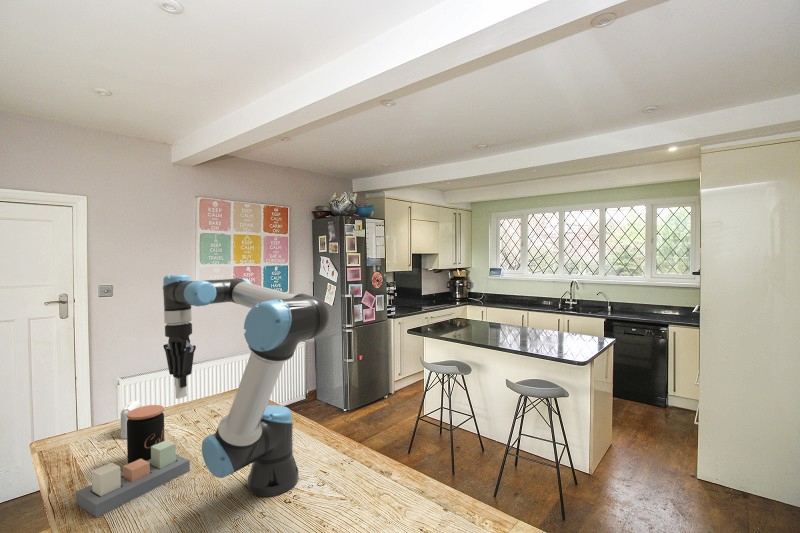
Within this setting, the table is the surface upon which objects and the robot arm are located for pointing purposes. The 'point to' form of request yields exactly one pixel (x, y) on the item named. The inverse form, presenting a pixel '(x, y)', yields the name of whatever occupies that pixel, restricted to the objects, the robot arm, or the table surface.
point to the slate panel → (130, 488)
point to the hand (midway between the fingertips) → (181, 397)
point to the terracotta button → (136, 470)
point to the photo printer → (124, 418)
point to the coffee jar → (144, 431)
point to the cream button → (106, 479)
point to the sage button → (163, 454)
